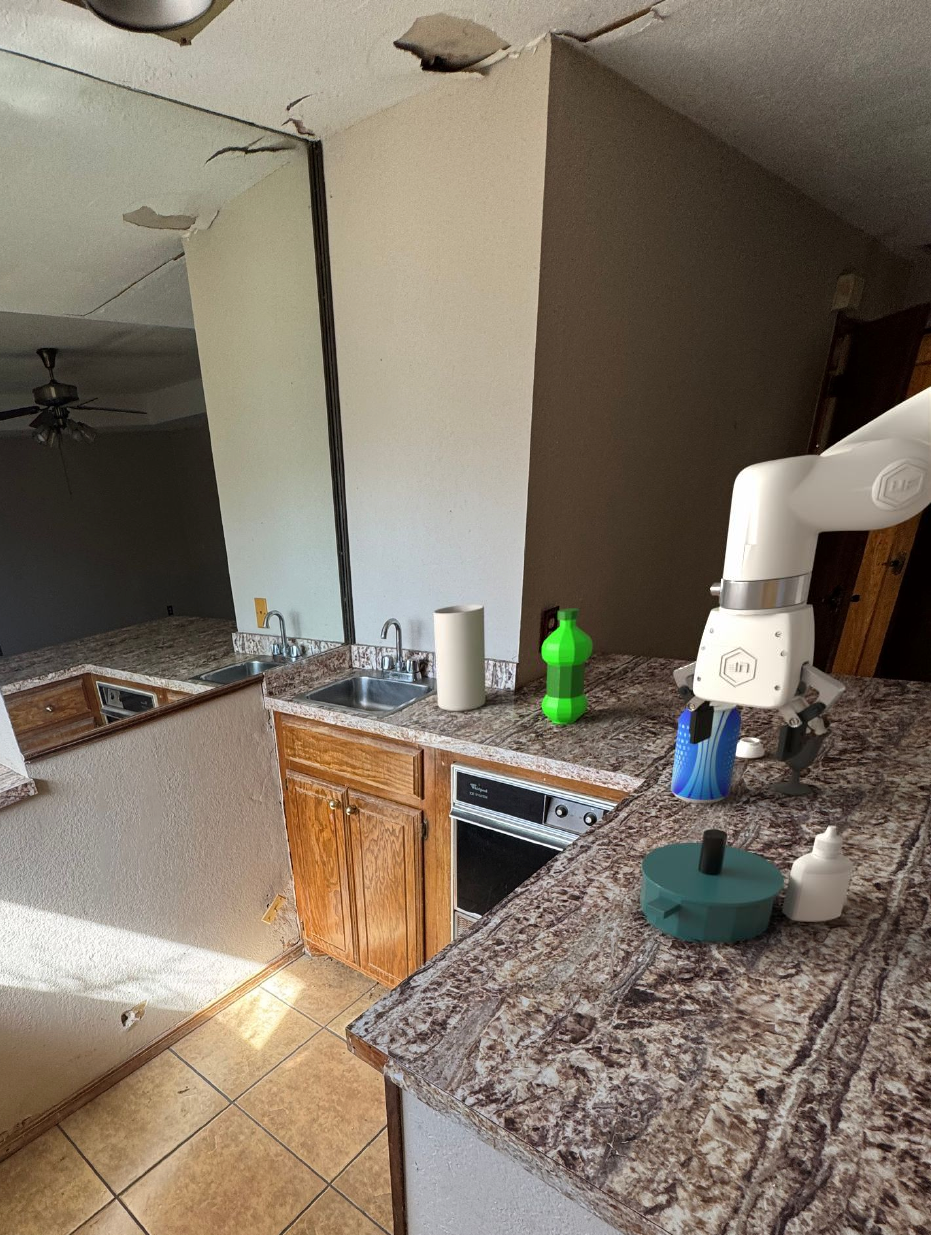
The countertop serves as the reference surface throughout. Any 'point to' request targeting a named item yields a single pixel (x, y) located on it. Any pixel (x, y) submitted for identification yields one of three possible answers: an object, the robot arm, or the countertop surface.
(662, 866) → the lid
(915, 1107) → the countertop surface
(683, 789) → the beer can
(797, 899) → the eye dropper bottle
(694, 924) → the pot
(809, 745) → the sundae
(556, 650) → the plastic bottle
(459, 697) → the cylinder vase
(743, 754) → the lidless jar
